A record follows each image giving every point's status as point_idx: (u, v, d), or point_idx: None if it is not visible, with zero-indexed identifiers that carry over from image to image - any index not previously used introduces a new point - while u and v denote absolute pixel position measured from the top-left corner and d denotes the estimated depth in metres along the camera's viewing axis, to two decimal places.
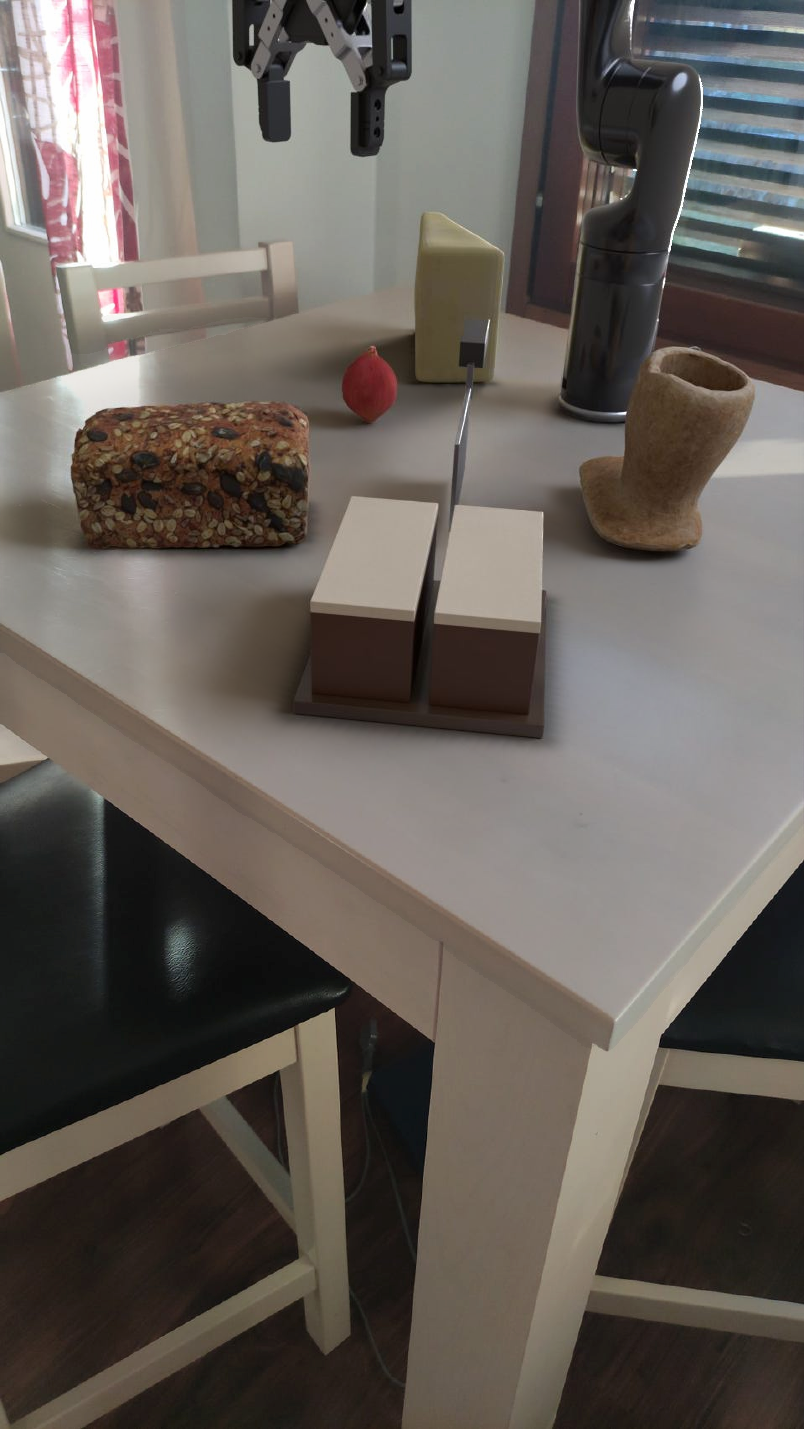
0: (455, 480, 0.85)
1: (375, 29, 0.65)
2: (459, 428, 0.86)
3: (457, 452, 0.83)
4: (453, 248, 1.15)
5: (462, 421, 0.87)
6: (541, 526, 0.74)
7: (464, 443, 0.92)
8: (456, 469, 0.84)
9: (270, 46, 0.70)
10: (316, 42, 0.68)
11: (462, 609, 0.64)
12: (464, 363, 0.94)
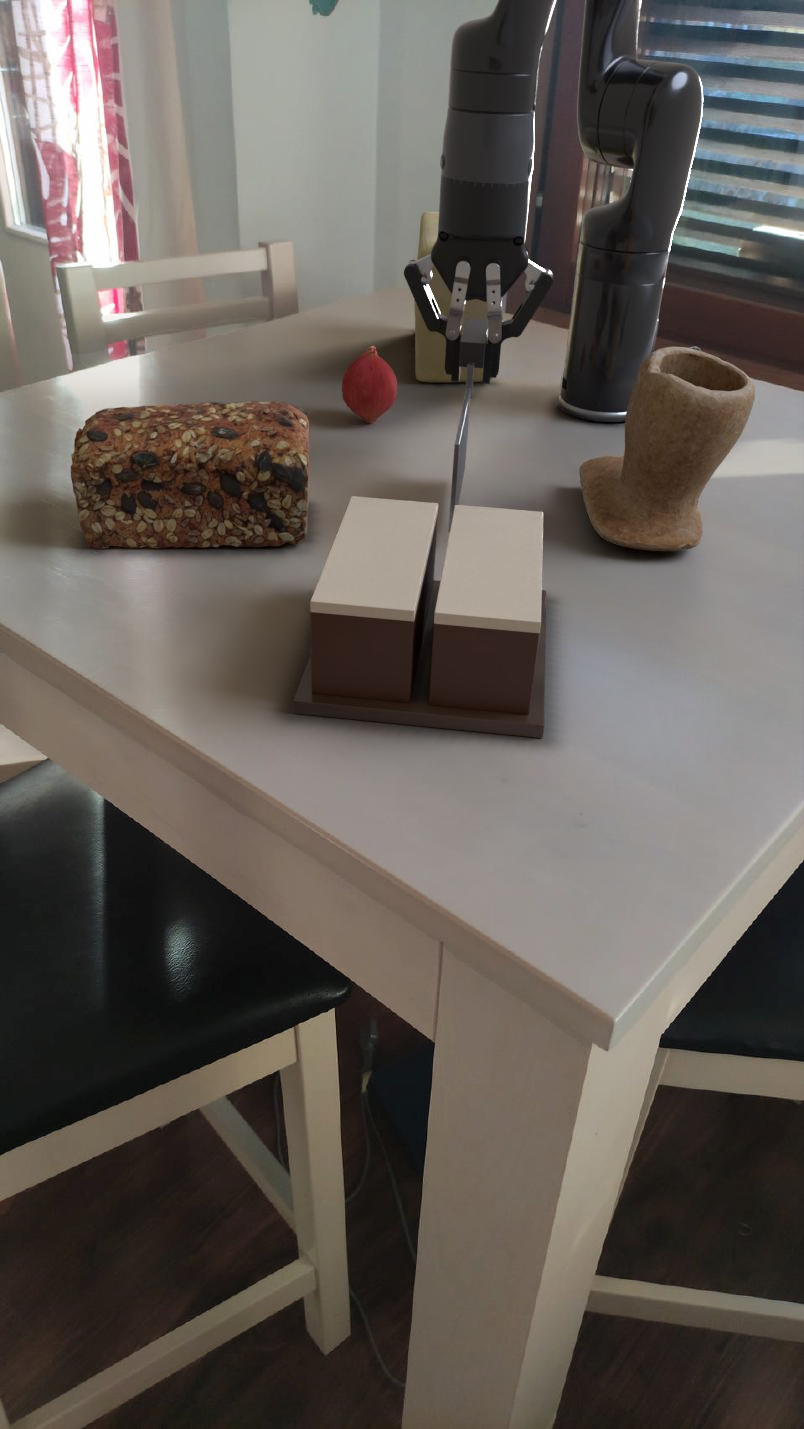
0: (455, 480, 0.85)
1: (526, 306, 0.92)
2: (459, 428, 0.86)
3: (457, 452, 0.83)
4: None
5: (462, 421, 0.87)
6: (541, 526, 0.74)
7: (464, 443, 0.92)
8: (456, 469, 0.84)
9: (463, 310, 0.92)
10: (485, 300, 0.92)
11: (462, 609, 0.64)
12: (464, 363, 0.94)
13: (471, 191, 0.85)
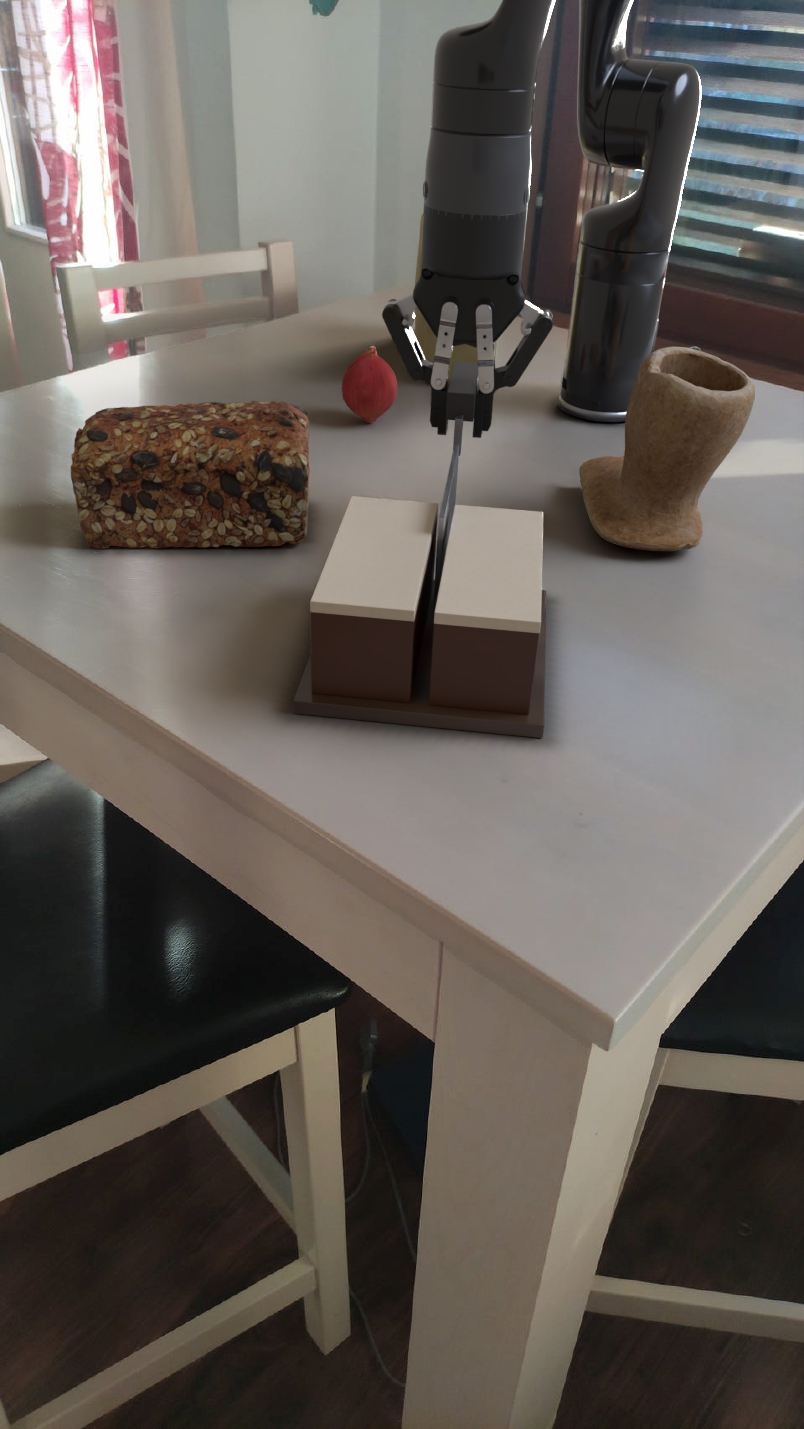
0: (440, 558, 0.73)
1: (522, 352, 0.81)
2: (444, 497, 0.74)
3: (442, 527, 0.72)
4: None
5: (448, 487, 0.76)
6: (541, 526, 0.74)
7: None
8: (441, 546, 0.73)
9: (450, 357, 0.81)
10: (475, 345, 0.81)
11: (462, 609, 0.64)
12: (452, 416, 0.83)
13: (458, 224, 0.74)
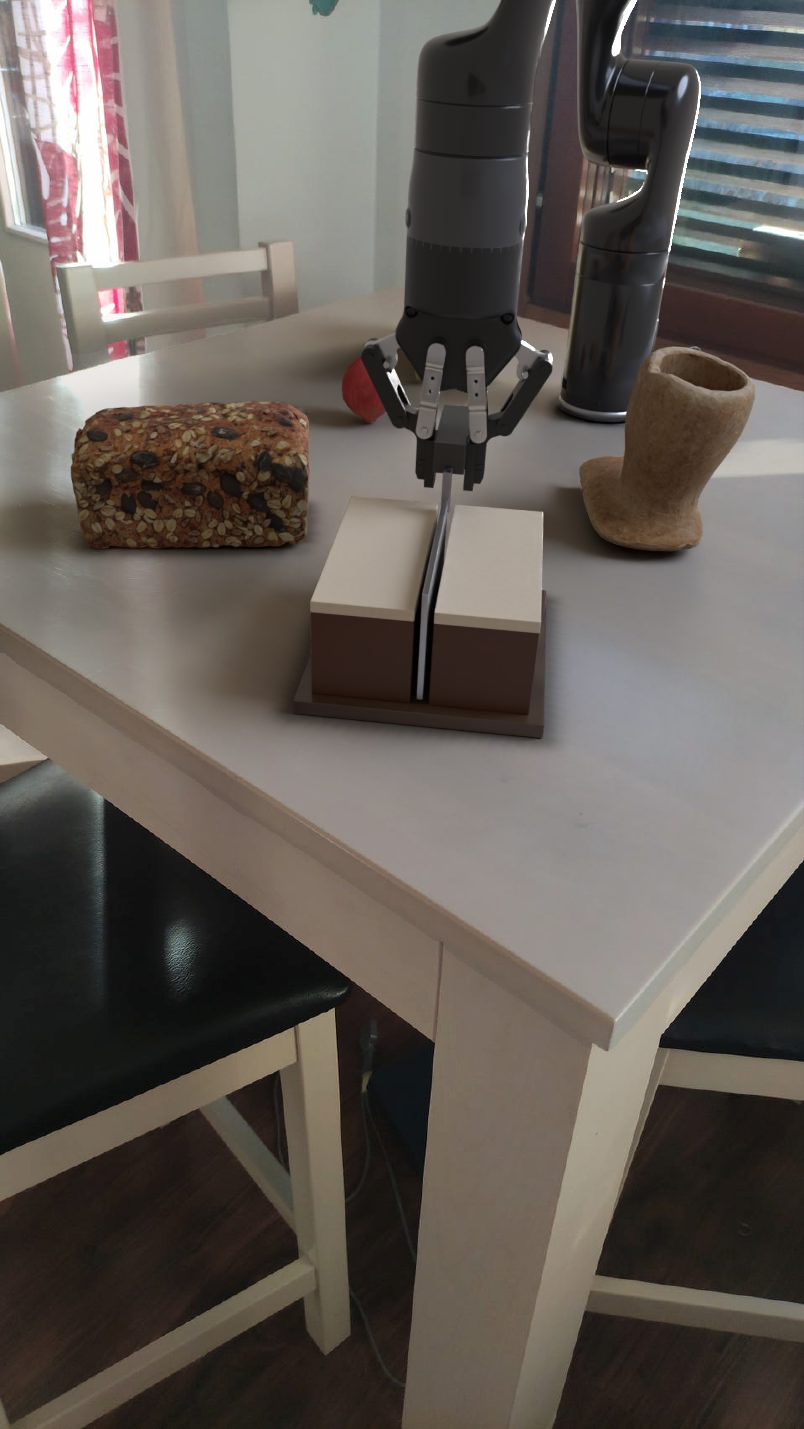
0: (424, 638, 0.64)
1: (518, 399, 0.72)
2: (429, 567, 0.66)
3: (426, 604, 0.63)
4: None
5: (434, 555, 0.67)
6: (541, 526, 0.74)
7: None
8: (425, 624, 0.64)
9: (437, 403, 0.72)
10: (465, 390, 0.72)
11: (462, 609, 0.64)
12: (439, 468, 0.74)
13: (445, 258, 0.65)
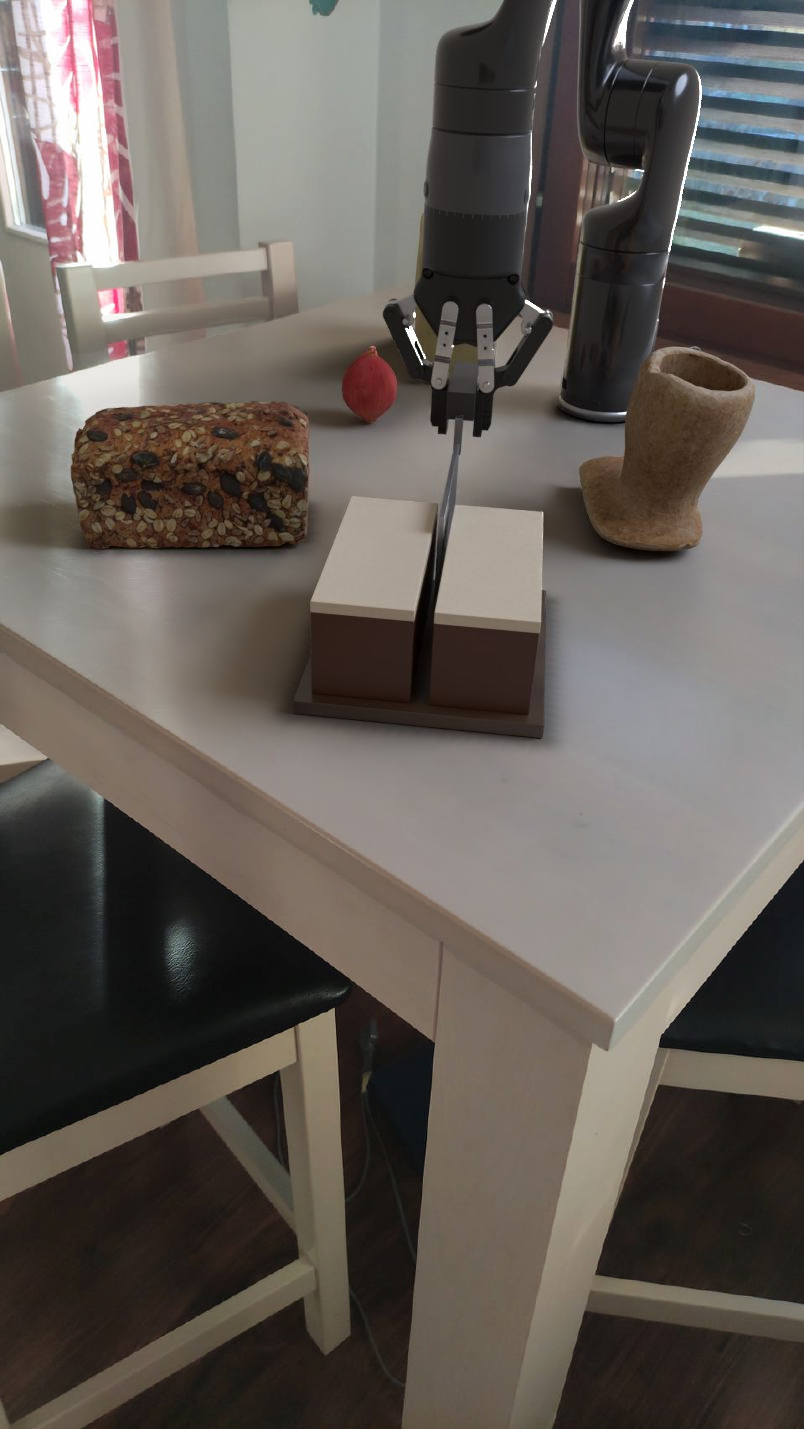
0: (440, 557, 0.73)
1: (522, 352, 0.81)
2: (444, 496, 0.75)
3: (442, 526, 0.72)
4: None
5: (448, 487, 0.76)
6: (541, 526, 0.74)
7: None
8: (441, 545, 0.73)
9: (450, 356, 0.81)
10: (475, 345, 0.81)
11: (462, 609, 0.64)
12: (452, 415, 0.83)
13: (459, 223, 0.74)
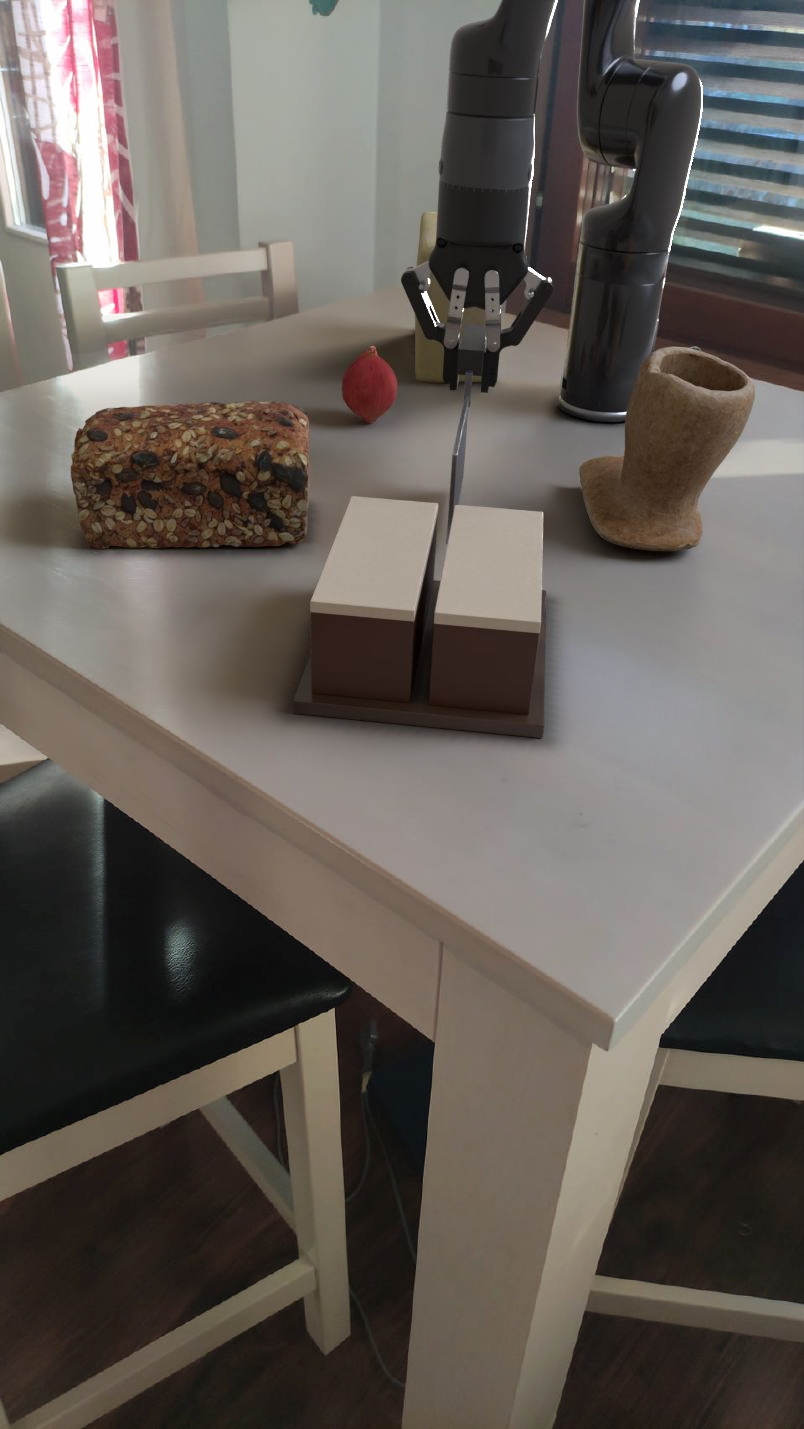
0: (453, 491, 0.83)
1: (525, 314, 0.90)
2: (457, 438, 0.84)
3: (455, 463, 0.81)
4: None
5: (460, 431, 0.85)
6: (541, 526, 0.74)
7: (462, 453, 0.90)
8: (454, 480, 0.82)
9: (461, 318, 0.91)
10: (484, 308, 0.90)
11: (462, 609, 0.64)
12: (462, 371, 0.92)
13: (470, 197, 0.83)
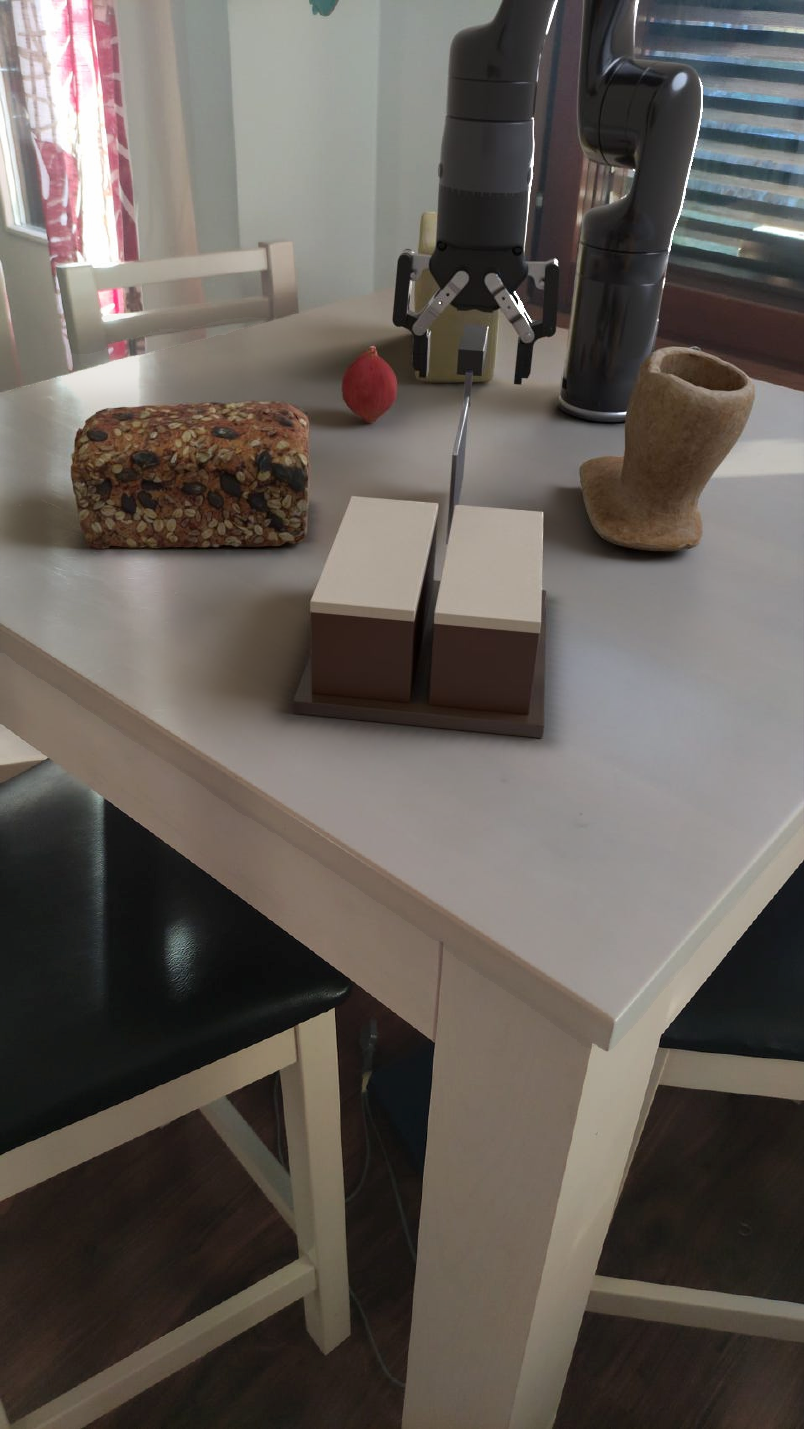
0: (453, 491, 0.83)
1: (547, 303, 0.90)
2: (457, 438, 0.84)
3: (455, 463, 0.81)
4: None
5: (460, 431, 0.85)
6: (541, 526, 0.74)
7: (462, 453, 0.90)
8: (454, 480, 0.82)
9: (440, 314, 0.91)
10: (484, 310, 0.91)
11: (462, 609, 0.64)
12: (462, 371, 0.92)
13: (469, 200, 0.84)
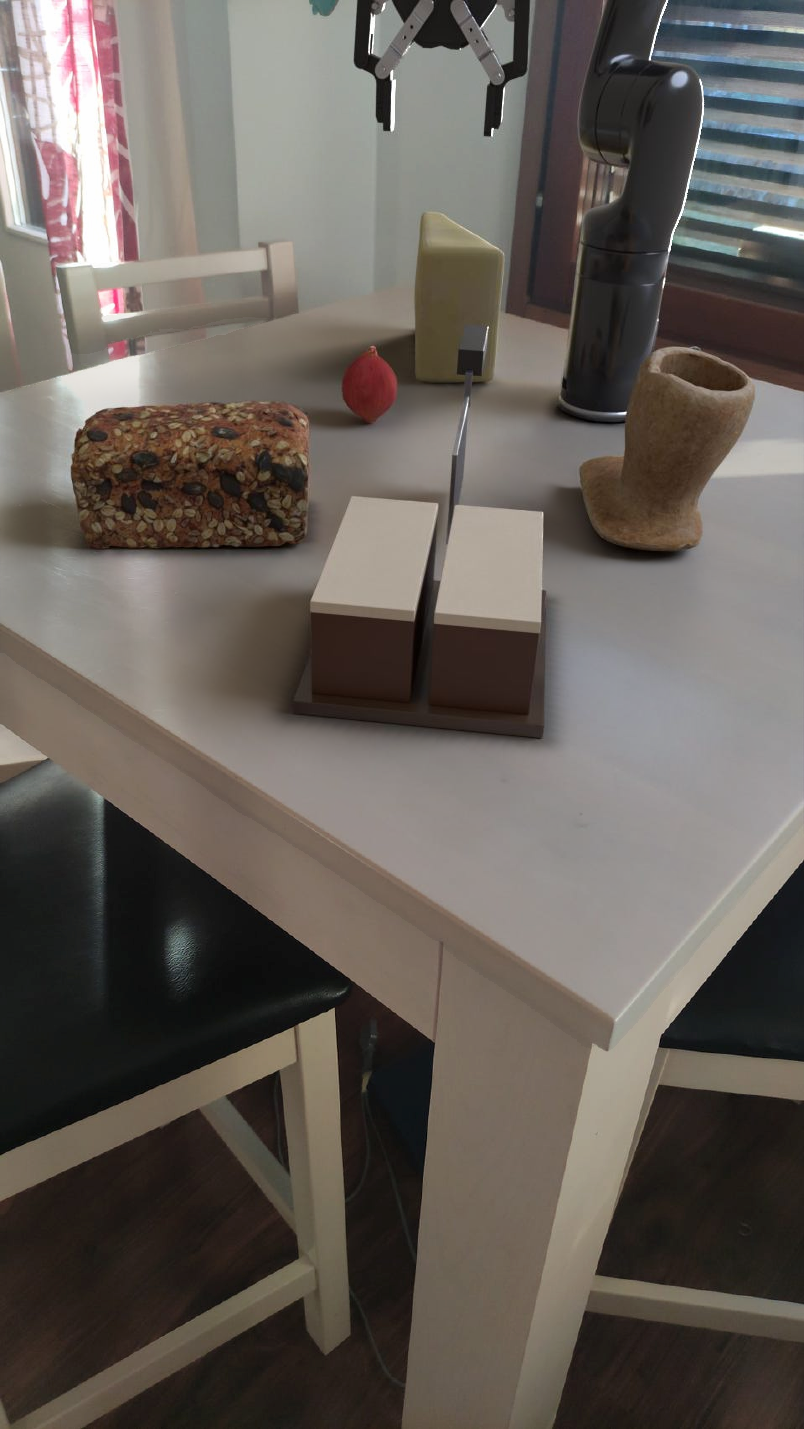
0: (453, 491, 0.83)
1: (517, 36, 0.84)
2: (457, 438, 0.84)
3: (455, 463, 0.81)
4: (453, 248, 1.15)
5: (460, 431, 0.85)
6: (541, 526, 0.74)
7: (462, 453, 0.90)
8: (454, 480, 0.82)
9: (404, 52, 0.85)
10: (450, 47, 0.85)
11: (462, 609, 0.64)
12: (462, 371, 0.92)
13: None
